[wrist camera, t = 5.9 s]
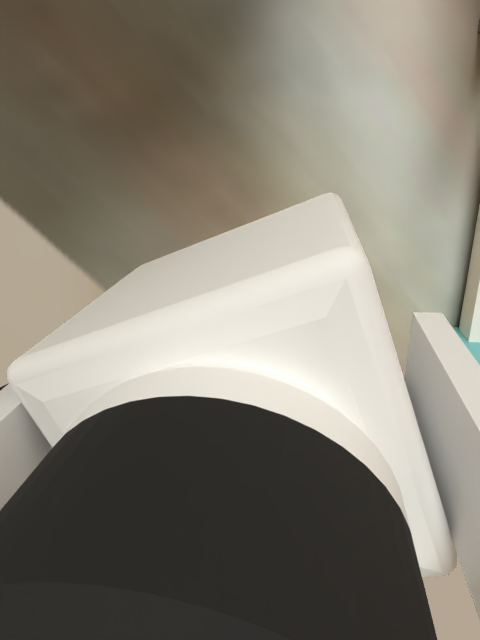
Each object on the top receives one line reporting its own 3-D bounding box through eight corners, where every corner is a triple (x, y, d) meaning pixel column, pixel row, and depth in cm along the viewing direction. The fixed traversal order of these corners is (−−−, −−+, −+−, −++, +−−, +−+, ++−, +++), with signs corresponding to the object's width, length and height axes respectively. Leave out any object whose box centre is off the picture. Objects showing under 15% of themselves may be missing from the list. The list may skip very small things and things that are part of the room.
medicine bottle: (135, 265, 14) (-418, 672, 3) (337, 186, 12) (524, 589, 1) (216, 427, 17) (36, 974, 6) (398, 384, 15) (647, 1111, 4)
